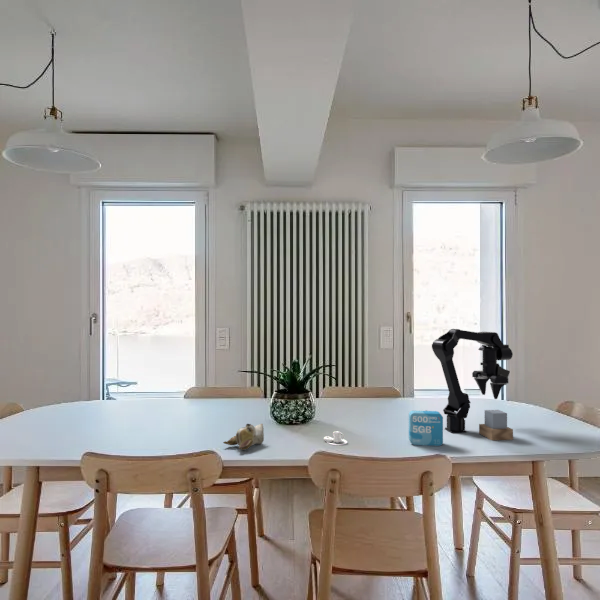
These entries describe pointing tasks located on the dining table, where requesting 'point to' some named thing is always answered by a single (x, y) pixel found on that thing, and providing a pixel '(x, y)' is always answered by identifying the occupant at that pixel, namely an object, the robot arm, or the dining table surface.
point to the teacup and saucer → (335, 438)
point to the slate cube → (496, 419)
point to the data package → (425, 428)
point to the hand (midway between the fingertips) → (489, 396)
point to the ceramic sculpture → (247, 436)
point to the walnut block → (496, 433)
